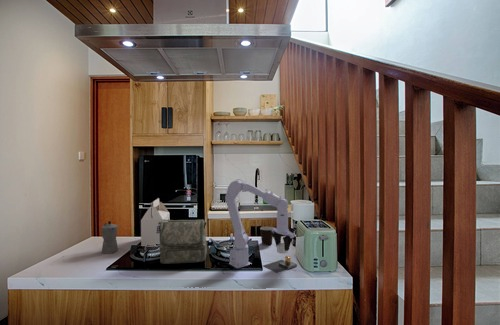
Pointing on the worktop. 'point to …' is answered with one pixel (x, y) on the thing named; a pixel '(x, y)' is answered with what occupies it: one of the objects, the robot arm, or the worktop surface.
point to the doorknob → (287, 263)
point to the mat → (275, 266)
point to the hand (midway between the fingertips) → (282, 248)
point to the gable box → (153, 223)
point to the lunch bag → (182, 241)
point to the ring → (281, 248)
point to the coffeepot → (109, 238)
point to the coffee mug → (266, 235)
